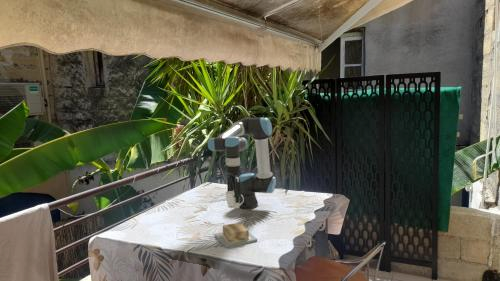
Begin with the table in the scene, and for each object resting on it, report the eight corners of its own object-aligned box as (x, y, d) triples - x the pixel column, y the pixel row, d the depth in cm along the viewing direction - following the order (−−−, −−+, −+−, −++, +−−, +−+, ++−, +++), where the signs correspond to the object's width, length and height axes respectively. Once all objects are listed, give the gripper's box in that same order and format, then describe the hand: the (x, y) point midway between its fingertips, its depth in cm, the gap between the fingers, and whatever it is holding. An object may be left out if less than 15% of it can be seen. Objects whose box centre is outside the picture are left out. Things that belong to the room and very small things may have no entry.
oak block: (241, 230, 203) (241, 222, 203) (248, 239, 191) (248, 230, 190) (223, 233, 200) (222, 225, 199) (229, 242, 187) (229, 233, 187)
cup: (225, 204, 196) (225, 190, 195) (243, 204, 197) (243, 190, 195) (225, 209, 189) (225, 194, 188) (243, 208, 190) (243, 194, 188)
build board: (243, 230, 207) (243, 228, 207) (257, 241, 191) (257, 239, 191) (215, 236, 200) (215, 233, 200) (226, 248, 184) (226, 245, 183)
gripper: (220, 163, 197) (222, 202, 200) (233, 169, 180) (234, 212, 183) (232, 161, 200) (234, 200, 203) (246, 167, 183) (247, 210, 186)
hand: (234, 206), depth 193 cm, fingers closed on cup, 6 cm apart
